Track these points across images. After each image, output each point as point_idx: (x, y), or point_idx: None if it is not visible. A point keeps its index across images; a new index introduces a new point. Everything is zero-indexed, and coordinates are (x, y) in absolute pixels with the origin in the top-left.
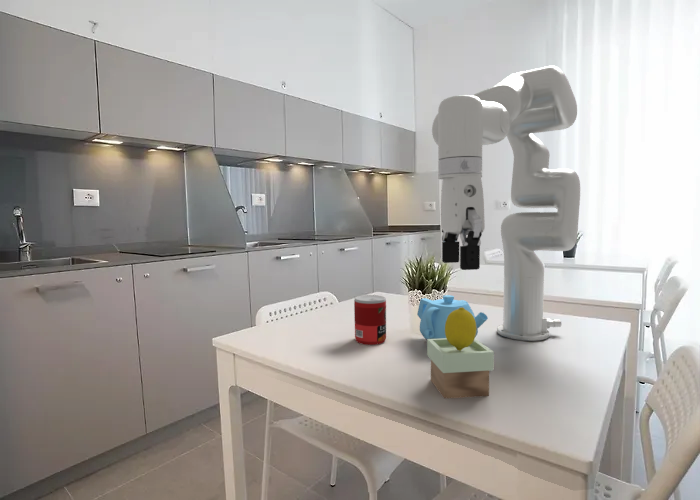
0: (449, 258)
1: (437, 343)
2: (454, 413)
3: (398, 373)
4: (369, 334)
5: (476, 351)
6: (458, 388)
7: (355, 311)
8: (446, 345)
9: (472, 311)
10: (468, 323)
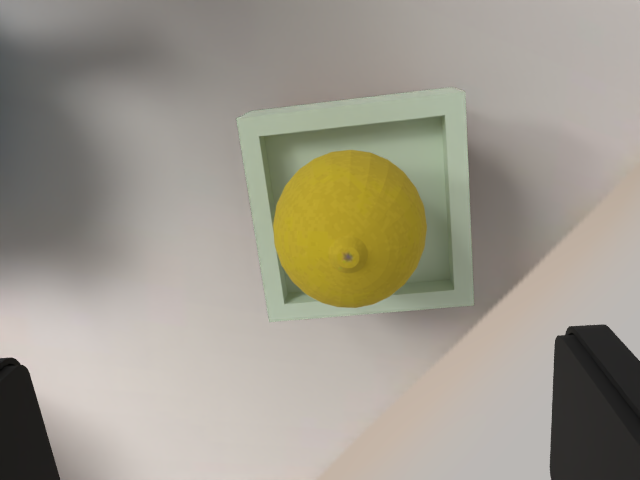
0: (27, 475)
1: (282, 277)
2: (531, 233)
3: (236, 337)
4: None
5: (449, 165)
6: None
7: None
8: None
9: None
10: (420, 220)
